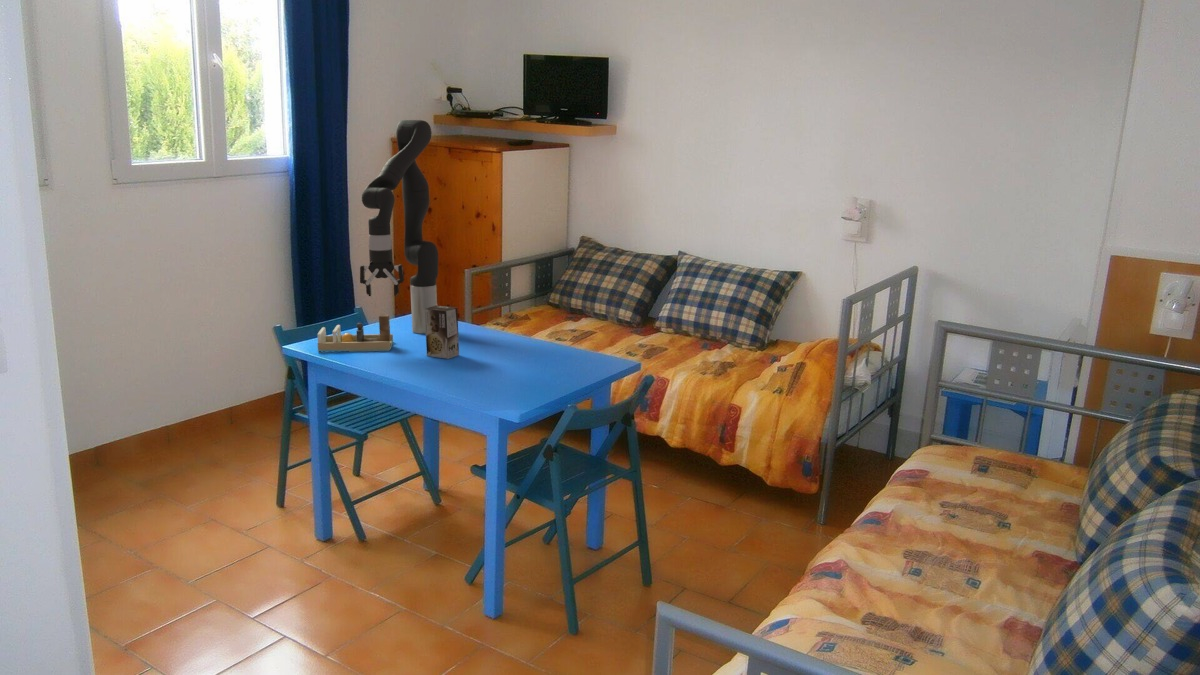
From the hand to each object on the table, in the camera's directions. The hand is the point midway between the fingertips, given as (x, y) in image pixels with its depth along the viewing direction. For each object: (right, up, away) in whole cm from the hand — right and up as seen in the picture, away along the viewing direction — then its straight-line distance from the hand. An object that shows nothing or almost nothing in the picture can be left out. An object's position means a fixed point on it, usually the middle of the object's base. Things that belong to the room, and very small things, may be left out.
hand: (382, 295), depth 316 cm
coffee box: (+22, -20, -7) cm, 30 cm away
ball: (-12, -15, +2) cm, 19 cm away
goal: (-18, -18, +2) cm, 26 cm away
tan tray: (-10, -17, +3) cm, 20 cm away
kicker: (-4, -16, +3) cm, 17 cm away
